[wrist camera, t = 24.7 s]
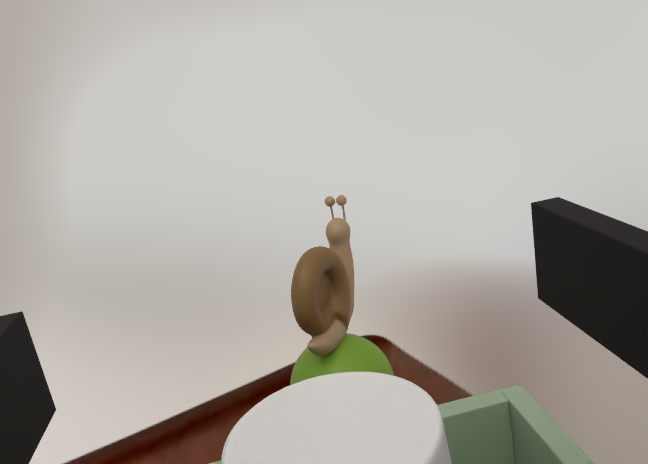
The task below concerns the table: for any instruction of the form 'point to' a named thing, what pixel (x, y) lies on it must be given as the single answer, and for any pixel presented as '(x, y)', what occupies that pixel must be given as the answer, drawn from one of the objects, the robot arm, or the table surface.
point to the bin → (505, 431)
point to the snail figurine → (330, 309)
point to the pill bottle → (341, 424)
